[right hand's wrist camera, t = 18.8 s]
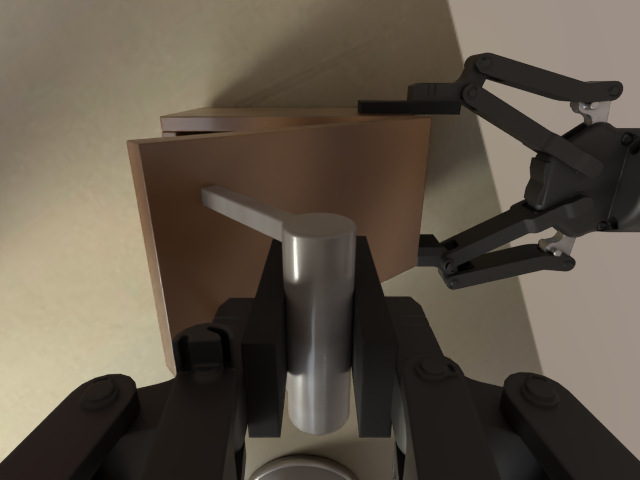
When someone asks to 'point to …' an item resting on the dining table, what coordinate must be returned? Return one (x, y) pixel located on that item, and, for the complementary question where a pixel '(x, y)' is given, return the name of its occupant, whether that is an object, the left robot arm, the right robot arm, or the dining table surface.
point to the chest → (259, 119)
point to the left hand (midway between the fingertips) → (356, 180)
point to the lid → (282, 234)
